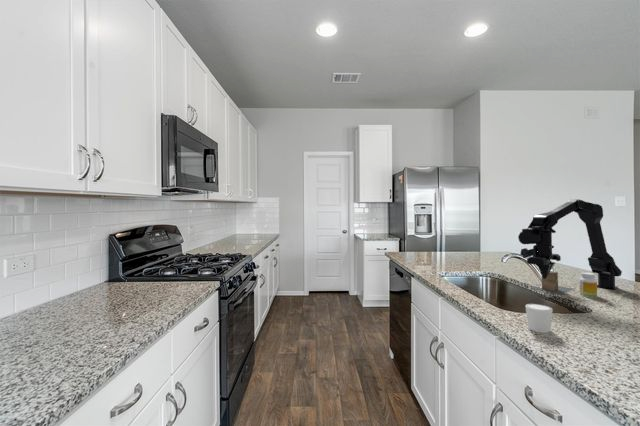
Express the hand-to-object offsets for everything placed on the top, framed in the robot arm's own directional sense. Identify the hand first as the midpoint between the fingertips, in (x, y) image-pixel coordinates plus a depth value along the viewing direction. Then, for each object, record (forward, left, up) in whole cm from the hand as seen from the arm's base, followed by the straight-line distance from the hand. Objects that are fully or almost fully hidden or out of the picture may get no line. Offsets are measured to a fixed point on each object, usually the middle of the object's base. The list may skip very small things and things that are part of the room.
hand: (544, 278), depth 131 cm
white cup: (+47, +16, -7) cm, 50 cm away
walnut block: (-6, 0, -6) cm, 8 cm away
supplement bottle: (-7, +13, -7) cm, 16 cm away
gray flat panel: (-9, 0, -6) cm, 11 cm away
